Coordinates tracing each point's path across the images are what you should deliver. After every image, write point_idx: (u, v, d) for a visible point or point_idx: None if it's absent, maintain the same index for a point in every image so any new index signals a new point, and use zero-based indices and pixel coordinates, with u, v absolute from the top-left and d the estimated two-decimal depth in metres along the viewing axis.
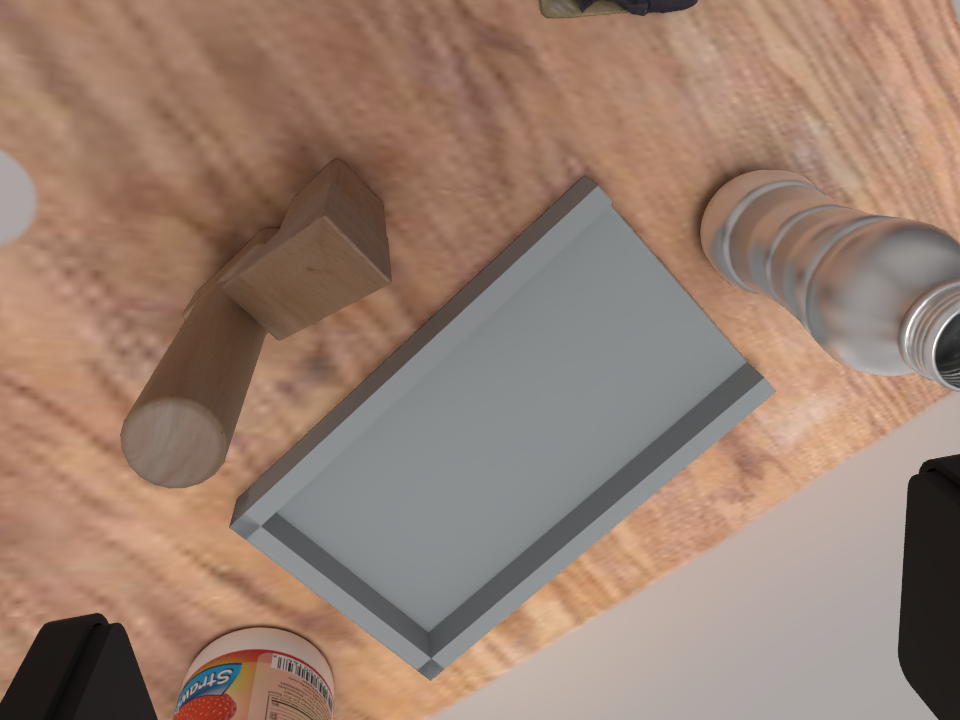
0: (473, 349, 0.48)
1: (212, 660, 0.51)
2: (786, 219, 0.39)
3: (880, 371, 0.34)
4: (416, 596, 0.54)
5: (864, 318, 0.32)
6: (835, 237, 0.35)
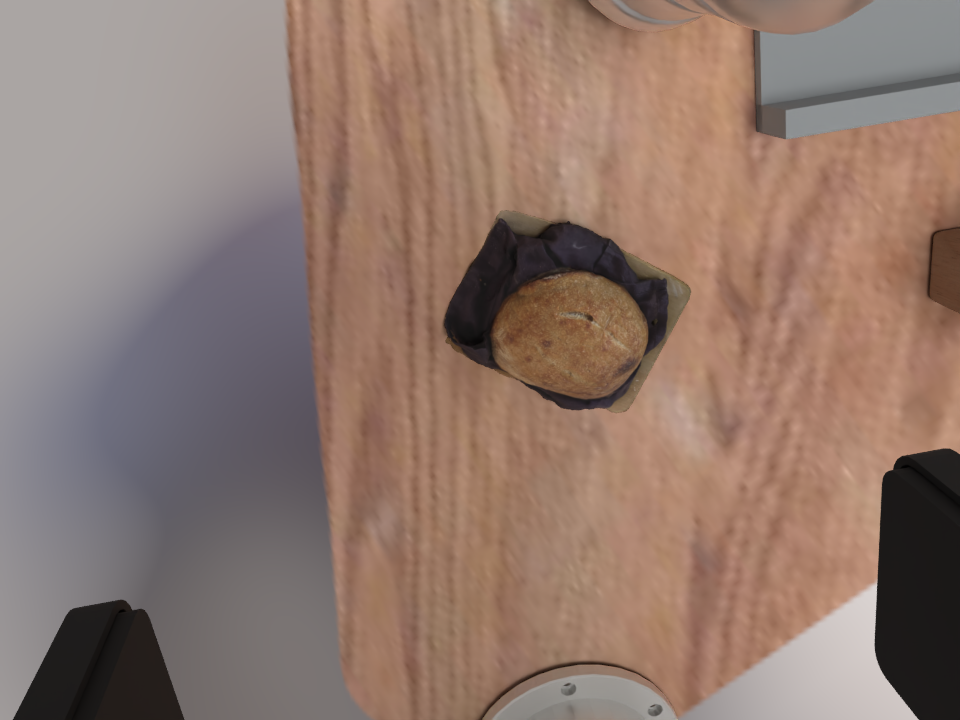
0: None
1: None
2: None
3: None
4: None
5: None
6: None
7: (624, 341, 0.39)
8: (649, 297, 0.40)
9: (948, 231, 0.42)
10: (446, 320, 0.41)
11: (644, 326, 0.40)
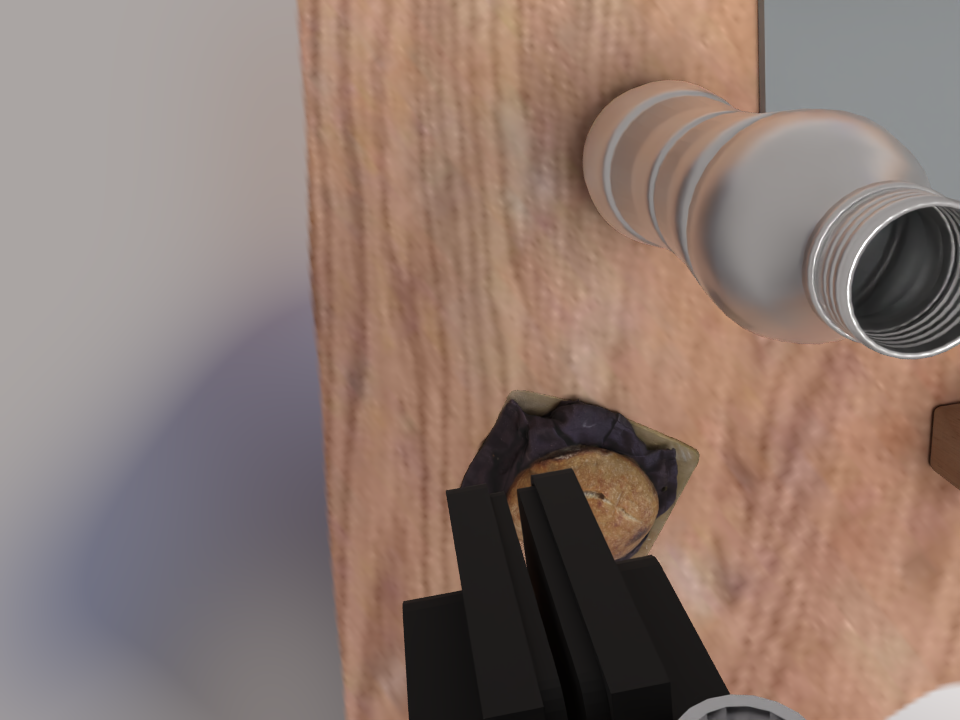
0: None
1: None
2: None
3: (926, 183, 0.22)
4: None
5: None
6: None
7: (635, 515, 0.40)
8: (659, 467, 0.41)
9: (948, 408, 0.43)
10: None
11: (655, 498, 0.41)
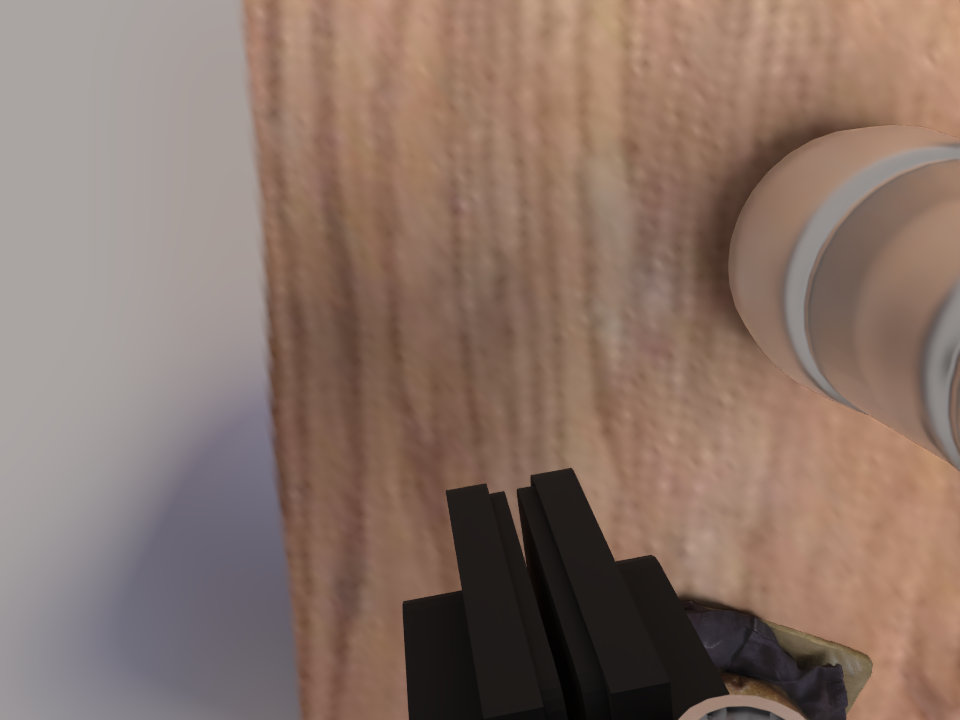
0: None
1: None
2: None
3: None
4: None
5: None
6: None
7: None
8: (817, 695, 0.27)
9: None
10: None
11: None
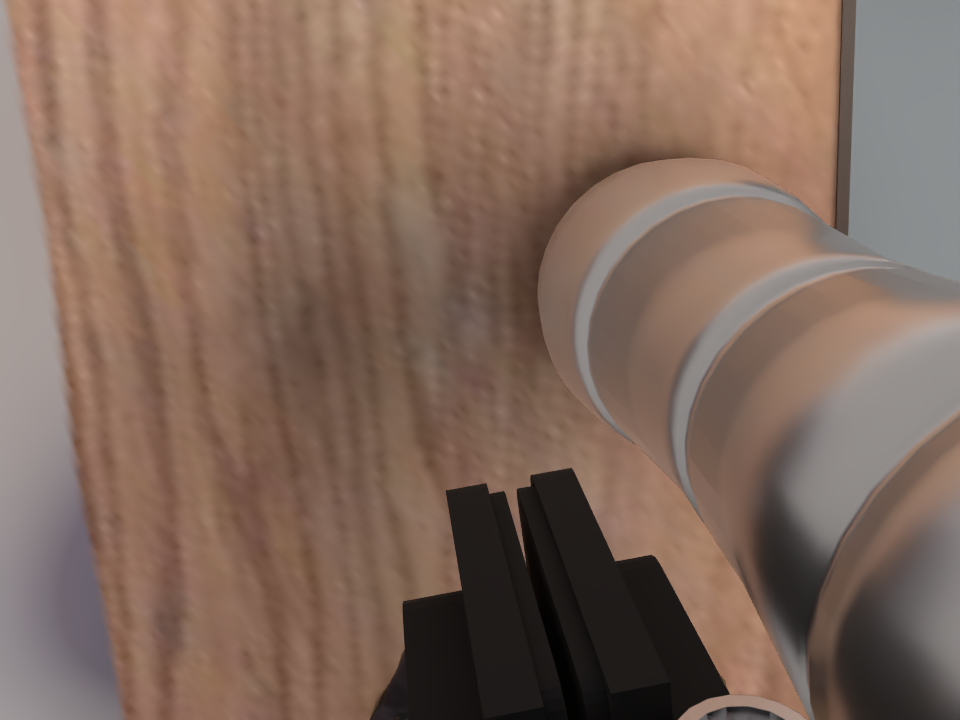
0: None
1: None
2: None
3: None
4: None
5: None
6: None
7: None
8: None
9: None
10: None
11: None
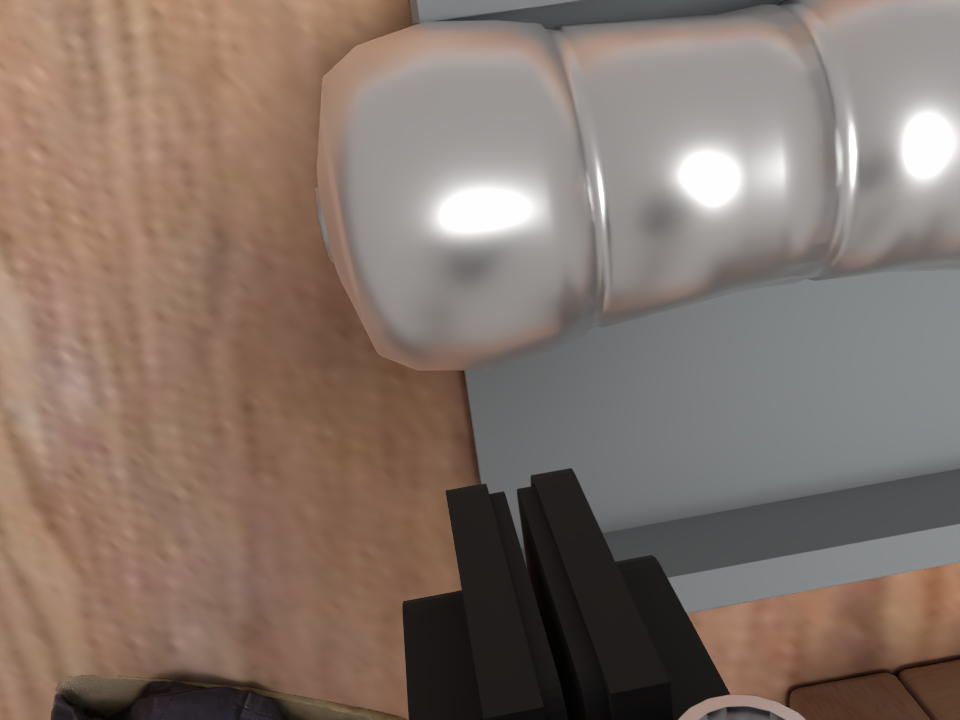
0: (871, 434, 0.24)
1: None
2: (787, 253, 0.16)
3: None
4: None
5: None
6: None
7: None
8: None
9: (810, 695, 0.27)
10: None
11: None
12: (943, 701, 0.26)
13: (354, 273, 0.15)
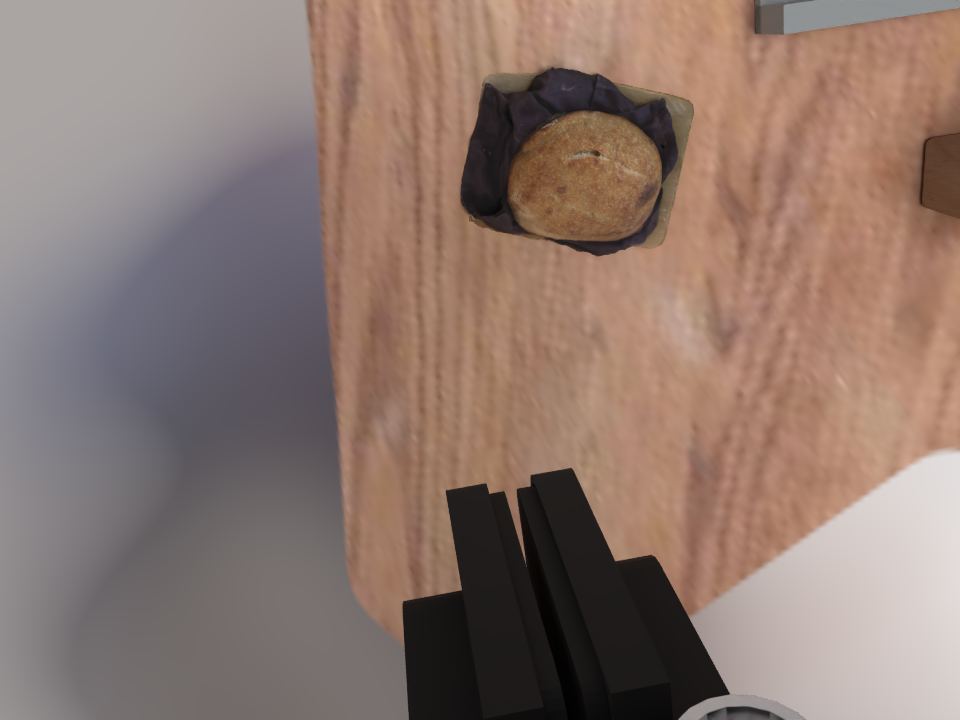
0: None
1: None
2: None
3: None
4: None
5: None
6: None
7: (637, 168, 0.40)
8: (652, 120, 0.40)
9: (940, 137, 0.43)
10: (463, 198, 0.42)
11: (654, 149, 0.40)
12: None
13: None
